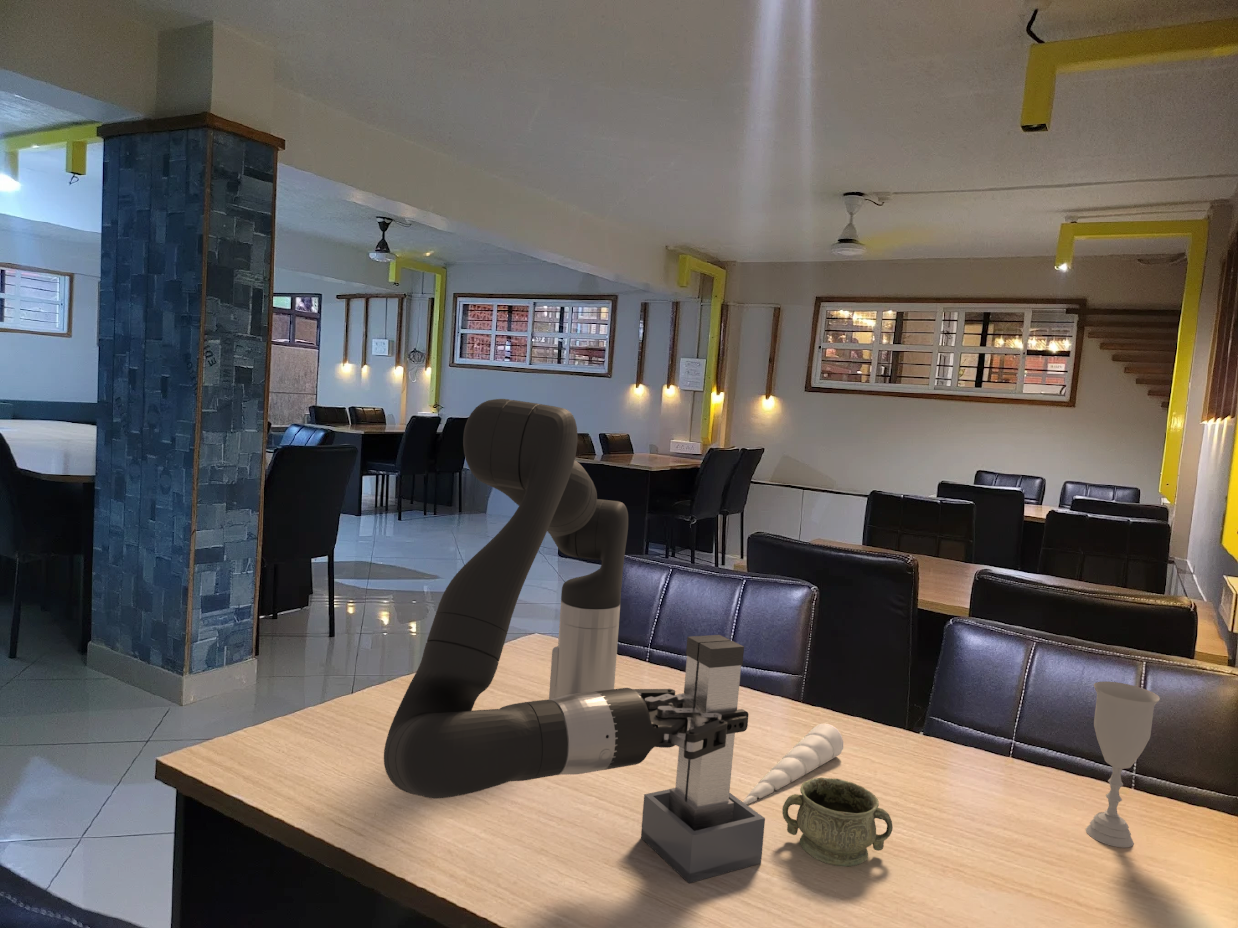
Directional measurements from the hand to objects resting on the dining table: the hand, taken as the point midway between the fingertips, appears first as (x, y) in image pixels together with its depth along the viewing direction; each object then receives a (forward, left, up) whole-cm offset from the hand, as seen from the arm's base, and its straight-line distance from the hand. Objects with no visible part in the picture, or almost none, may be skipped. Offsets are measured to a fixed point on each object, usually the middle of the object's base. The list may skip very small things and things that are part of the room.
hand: (730, 711), depth 89 cm
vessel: (+11, +8, -16) cm, 20 cm away
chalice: (+38, +32, -15) cm, 52 cm away
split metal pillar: (-2, -3, -12) cm, 12 cm away
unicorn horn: (+1, +23, -16) cm, 28 cm away
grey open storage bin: (-1, -2, -15) cm, 16 cm away
